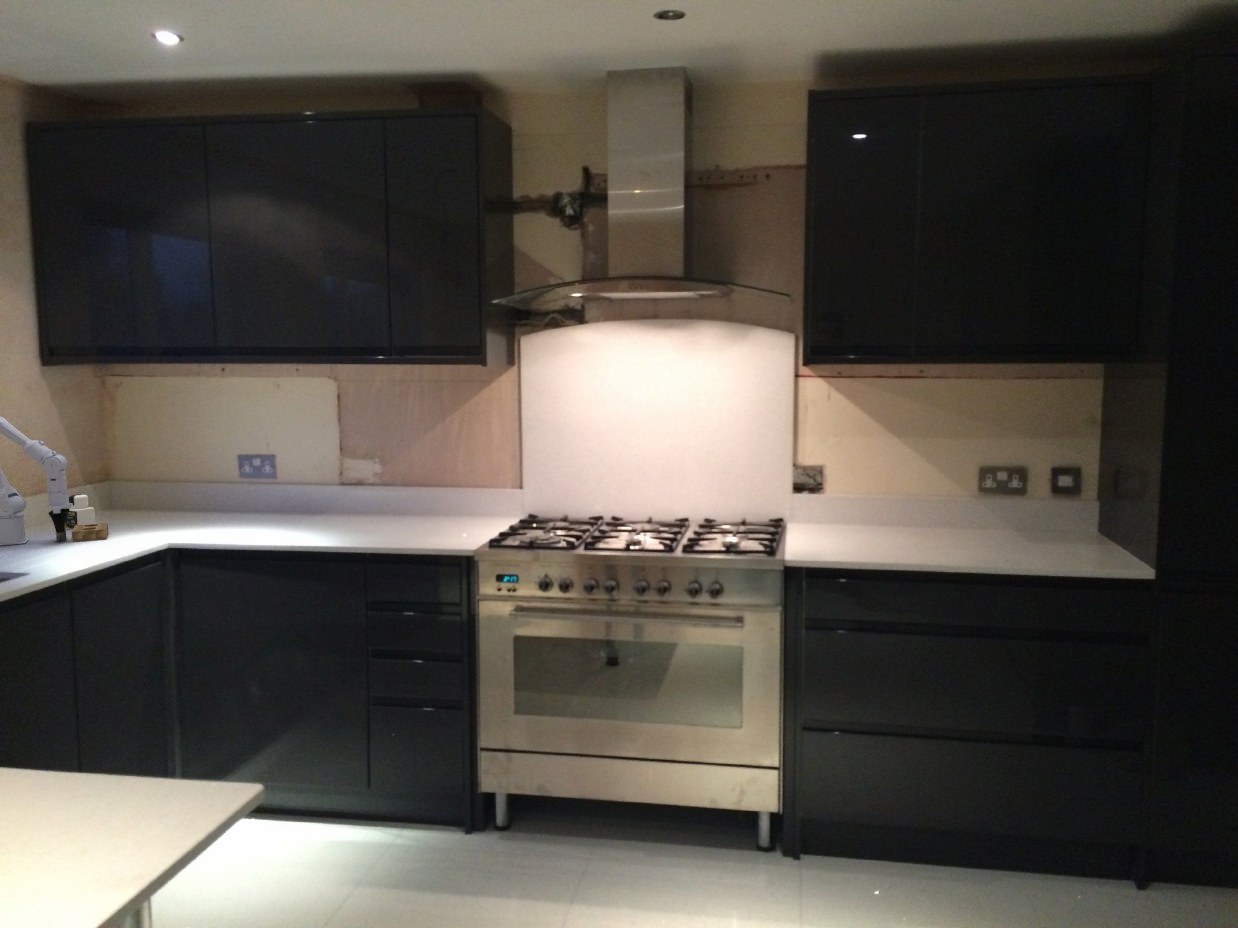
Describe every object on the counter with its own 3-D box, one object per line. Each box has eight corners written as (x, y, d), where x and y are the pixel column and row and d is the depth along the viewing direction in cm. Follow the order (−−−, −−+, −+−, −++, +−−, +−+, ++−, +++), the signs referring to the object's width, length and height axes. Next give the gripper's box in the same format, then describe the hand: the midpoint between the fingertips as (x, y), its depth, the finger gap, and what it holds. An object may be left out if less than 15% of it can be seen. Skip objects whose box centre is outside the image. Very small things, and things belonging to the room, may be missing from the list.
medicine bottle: (65, 528, 360) (62, 495, 358) (83, 525, 366) (81, 492, 364) (77, 530, 356) (75, 496, 355) (96, 526, 363) (93, 494, 361)
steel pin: (56, 542, 334) (54, 518, 333) (57, 540, 337) (55, 517, 336) (66, 541, 335) (64, 517, 334) (67, 539, 338) (65, 516, 337)
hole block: (72, 542, 334) (71, 531, 333) (76, 535, 347) (75, 525, 346) (105, 539, 338) (105, 529, 337) (108, 532, 350) (107, 522, 350)
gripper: (69, 493, 329) (72, 534, 331) (73, 487, 342) (76, 527, 344) (44, 494, 326) (47, 535, 328) (49, 489, 339) (52, 528, 341)
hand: (60, 531), depth 336 cm, fingers closed on steel pin, 3 cm apart
